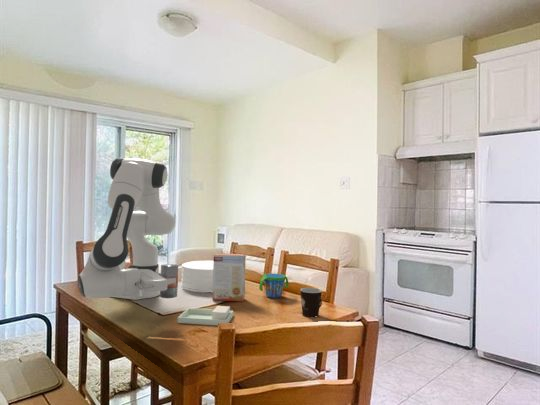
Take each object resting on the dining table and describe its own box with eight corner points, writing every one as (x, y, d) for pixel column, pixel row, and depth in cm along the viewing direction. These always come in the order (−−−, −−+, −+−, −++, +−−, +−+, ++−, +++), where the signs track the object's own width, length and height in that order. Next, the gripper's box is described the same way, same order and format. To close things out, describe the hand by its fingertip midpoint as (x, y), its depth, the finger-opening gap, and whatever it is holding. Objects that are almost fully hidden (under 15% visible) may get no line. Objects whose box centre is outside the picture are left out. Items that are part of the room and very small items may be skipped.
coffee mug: (299, 311, 152) (299, 287, 152) (319, 312, 152) (320, 288, 152) (300, 320, 140) (301, 294, 140) (323, 321, 140) (323, 295, 140)
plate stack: (221, 279, 212) (221, 259, 212) (244, 289, 189) (245, 267, 189) (173, 283, 197) (174, 262, 197) (192, 295, 174) (193, 271, 174)
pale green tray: (177, 324, 131) (177, 317, 131) (188, 314, 143) (188, 308, 143) (226, 327, 130) (227, 320, 130) (233, 317, 142) (233, 310, 142)
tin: (156, 297, 128) (158, 266, 128) (163, 293, 135) (164, 263, 135) (173, 298, 128) (174, 267, 128) (179, 294, 134) (180, 264, 134)
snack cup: (282, 292, 184) (283, 272, 184) (293, 297, 174) (294, 276, 174) (254, 295, 177) (255, 274, 177) (264, 300, 167) (264, 278, 167)
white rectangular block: (211, 322, 132) (212, 311, 132) (216, 316, 140) (217, 305, 140) (225, 323, 132) (225, 312, 132) (229, 317, 140) (230, 306, 140)
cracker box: (244, 298, 169) (246, 253, 170) (242, 302, 163) (244, 255, 164) (215, 297, 171) (216, 252, 171) (211, 300, 165) (213, 254, 165)
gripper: (140, 278, 115) (182, 274, 123) (125, 267, 132) (163, 264, 140) (139, 298, 115) (181, 293, 123) (124, 284, 132) (162, 281, 140)
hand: (171, 278), depth 132 cm, fingers closed on tin, 6 cm apart
